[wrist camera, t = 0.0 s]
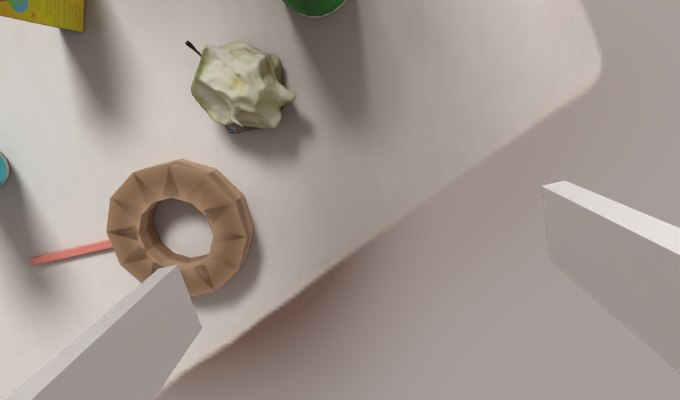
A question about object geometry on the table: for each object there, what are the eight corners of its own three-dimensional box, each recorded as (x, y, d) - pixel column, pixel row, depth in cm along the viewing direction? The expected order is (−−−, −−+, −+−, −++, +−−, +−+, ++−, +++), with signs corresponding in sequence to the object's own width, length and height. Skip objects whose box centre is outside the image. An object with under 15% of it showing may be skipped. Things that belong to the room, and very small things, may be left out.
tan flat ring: (104, 178, 43) (85, 184, 40) (228, 147, 41) (218, 151, 38) (152, 294, 46) (138, 307, 43) (267, 270, 45) (261, 282, 42)
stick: (33, 257, 46) (29, 259, 45) (126, 235, 44) (123, 237, 44) (36, 263, 46) (32, 265, 45) (129, 242, 45) (126, 244, 44)
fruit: (198, 70, 40) (160, 44, 32) (280, 39, 40) (261, 5, 32) (228, 152, 41) (198, 146, 33) (309, 122, 40) (298, 109, 32)
